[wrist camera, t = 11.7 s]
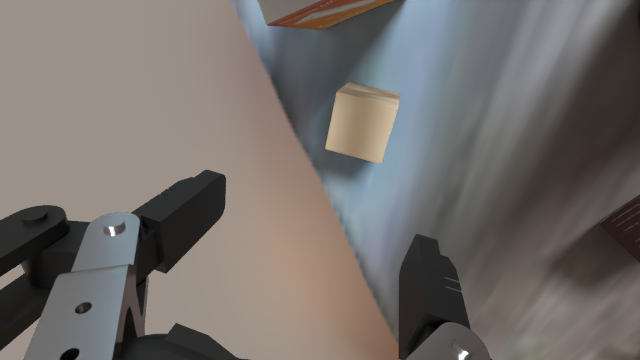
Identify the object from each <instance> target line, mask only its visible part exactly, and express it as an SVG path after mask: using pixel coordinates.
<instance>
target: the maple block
mask: <svg viewBox="0 0 640 360" xmlns="http://www.w3.org/2000/svg"><path fill="white" fill-rule="evenodd" d="M399 95H400V93H396V92H391V91H387V90H383V89H379V88H374V87H370V86H366V85H362V84H357V83H353V82H348V83H347V84H345V85H344V86H343V87H342V88H341V89H339V90H338V91H337V93H336V98H335V102H334V107H333V112H332V117H331V122H330V127H329V132H328V137H327V142H326V147H325V149H327V150H331V151H335V152H338V153H342V154H346V155H349V156H353V157H357V158H360V159H364V160H368V161H371V162H375V163H379V164H381V161H382V158H383V155H384V152H385V149H386V146H387V142H388V139H389V136H390V133H391V130H392V127H393V123H394V120H395V117H396V114H397V111H398V108H399Z"/></svg>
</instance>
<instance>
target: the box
mask: <svg viewBox="0 0 640 360" xmlns="http://www.w3.org/2000/svg"><path fill="white" fill-rule="evenodd" d="M600 225H602V226H603V227H604V228H605V229H606V230H607V231H608V232H609V233H610V234H611V235H612V236H613V237H614V238H615V239H616V240H617V241H618V242H619V243H620V244H621V245H622V246H623V247H624V248H625V249H626V250H627V251H628V252H629V253H630V254H631V255H632V256H633V257H634V258H635V259H636V260H638V261H639V262H640V196H639V197H637V198H636V199H634V200H633V201H631V202H630V203H628V204H627V205H625V206H624V207H622V208H620V209H619V210H617V211H615V212H614V213H613V214H611V215H609V216H608V217H605V218H604V219H603V220H602V221H601V222H600Z"/></svg>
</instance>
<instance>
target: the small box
mask: <svg viewBox="0 0 640 360" xmlns="http://www.w3.org/2000/svg"><path fill="white" fill-rule="evenodd" d="M391 1H394V0H258V3H259V5H260V8H261V11H262V13H263V16H264V19H265V22H266V24H267V25H268V26H283V27H294V28H306V29H316V30H325V29H327V28H329V27H331V26H333V25H335V24H337V23H340V22H342V21H344V20H347V19H349V18H352V17H354V16H356V15H359V14H361V13H363V12H366V11H368V10H371V9H373V8H376V7H378V6H381V5H383V4H386V3H389V2H391Z"/></svg>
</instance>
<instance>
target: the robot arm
mask: <svg viewBox="0 0 640 360" xmlns="http://www.w3.org/2000/svg"><path fill="white" fill-rule="evenodd" d="M639 22H640V21H639ZM225 193H226V177H225V176H224V175H223V174H220V173H216V172H213V171H210V170H205V171H203V172H202V173H200V174H199V175H197V176H196V177H194V178H192V177H190V178H187V179H184V180H181V181H178V182H177V183H175V184H174V185H172V186H171V187H169V189H166V190H165V191H163V192H162V193H161V194H160V195H157V196H156V197H154V198H153V199H151V200H150V201H148V202H147V203H145V204H144V205H142V206H141V207H139V208H138V209H136V210H135V211H133V212H132V213H127V212H116V213H110V214H106V215H103V216H101V217H99V218H97V219H95V220H93V221H92V222H78V221H68V220H67V217H66V214H65V211H64V210H63V209H62V208H60V207H57V206H51V205H43V206H36V207H31V208H27V209H23V210H21V211H18V212H16V213H14V214H12V215H10V216H8V217H6V218H4V219H2V220H0V277H1V276H2V275H4V274H5V273H7V272H8V271H10V270H11V269H13V268H14V267H16V266H17V265H19V264H21V265H22V267H23V270H24V272H25V273H24V274H23V275H21V276H20V277H19V278H17V279H16V280H14V281H13V282H11V283H10V284H8V285H7V286H6V287H4V288H3V289H1V290H0V351H1V350H2V349H3V348H4V347H5V346H7V345H8V344H9V343H10V342H11V341H13V339H15V338H16V337H17V336H18V335H20V334H21V333H22V332H23V331H24V330H26V329H27V328H28V327H29V326H30V325H31V324H33V323H34V322H35V321H36V320H37V319H39V318H40V320H39V322H38V325H37V327H36V330H35V332H34V334H33V337H32V339H31V342H30V344H29V347H28V349H27V352H26V354H25V356H24V359H23V360H248V359H239V358H237V357H235V356H234V355H232V354H231V353H230V352H229V351H227V350H226V349H225V348H223V347H222V346H221V345H220V344H219V343H217V342H216V341H215V340H213V339H212V338H211V337H210V336H208V335H206V334H203V333H201V332H198V331H195V330H193V329H190V328H187V327H185V326H182V325H180V324H177V323H176V324H175V325H174V326H173V328H172V329H171V330H170V331H169V333H168V334H151V335H145V316H146V304H147V294H148V283H149V277H148V275H149V274H150V273H151V272H152V271H153V270H154V269H155V270H157V271H160V272H163V273H167V272H168V271H169V270H170V269H171V268H172V267H173V266H174V265H175V264H176V263H177V262H178V261H179V260H180V259H181V258H182V257H183V256H184V255H185V254H186V253H187V252H188V251H189V250H190V249H191V248H192V246H193V245H194V244H196V242H198V240H199V239H200V238H201V237H202V236H203V235H204V234H205V233H206V232H207V231H208V230H209V229H210V228H211V227H212V226H213V225H214V224H215V223H216V222H217V221H218V220H219V219H220V218H221V216H222V214H223V212H224V209H225ZM458 282H459V279H458V275H457V271H456V268H455V267H454V265H453V264H452V262H451V261H450V259H449V258H448V257H446V256H442V255H440V251H439V246H438V241H437V240H435V239H432V238H429V237H426V236H422V235H419V234H416V235H415V237H414V239H413V241H412V243H411V245H410V247H409V250H408V252H407V254H406V256H405V258H404V260H403V263H402V266H401V269H400V274H399V359H401V360H492V359H490V356H489V353H488V350H487V348H486V346H485V345H484V343H483V342H482V341H481V339H480V338H479V337H478V336H477V335H476V334H475V333H474V332H472V331H471V329H470V325H469V321H468V317H467V312H466V308H465V304H464V300H463V296H462V293H461V287H460V283H458Z"/></svg>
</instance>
